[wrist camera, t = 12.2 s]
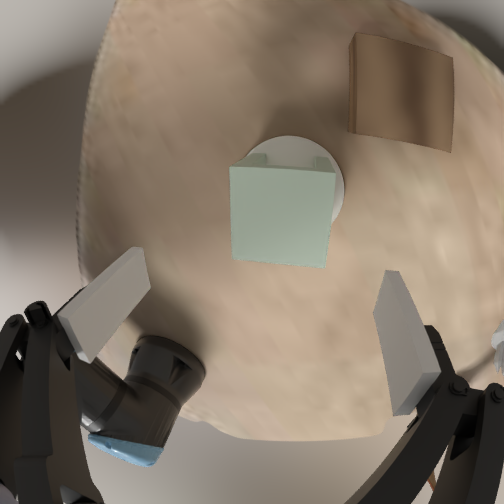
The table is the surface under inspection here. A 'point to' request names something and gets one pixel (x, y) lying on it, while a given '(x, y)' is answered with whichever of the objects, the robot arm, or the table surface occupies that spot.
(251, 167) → the stool
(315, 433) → the table surface
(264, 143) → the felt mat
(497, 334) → the crystal
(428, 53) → the walnut box
